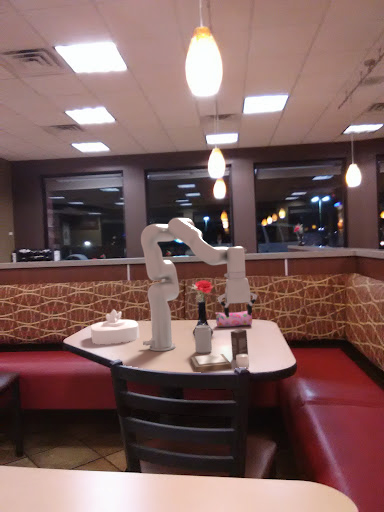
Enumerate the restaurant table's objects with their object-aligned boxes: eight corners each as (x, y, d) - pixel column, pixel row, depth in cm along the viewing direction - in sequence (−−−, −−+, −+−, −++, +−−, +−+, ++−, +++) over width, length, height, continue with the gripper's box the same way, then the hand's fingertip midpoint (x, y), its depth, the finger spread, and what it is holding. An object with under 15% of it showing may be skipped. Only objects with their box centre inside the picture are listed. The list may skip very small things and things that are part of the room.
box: (240, 355, 174) (239, 328, 174) (248, 357, 171) (247, 329, 170) (231, 359, 170) (230, 331, 170) (239, 361, 167) (238, 332, 166)
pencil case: (216, 329, 230) (215, 313, 229) (215, 325, 239) (214, 310, 239) (253, 327, 230) (252, 311, 230) (250, 323, 239) (250, 308, 239)
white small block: (238, 369, 157) (237, 358, 156) (235, 365, 161) (234, 354, 161) (250, 368, 157) (250, 356, 157) (247, 364, 162) (246, 353, 162)
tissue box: (90, 336, 228) (89, 308, 227) (134, 331, 235) (132, 304, 234) (93, 346, 204) (91, 315, 203) (141, 340, 211) (140, 310, 211)
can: (206, 354, 178) (205, 328, 178) (192, 353, 182) (191, 327, 182) (214, 350, 185) (213, 324, 184) (201, 348, 189) (199, 323, 188)
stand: (196, 372, 155) (196, 365, 155) (191, 361, 169) (190, 355, 169) (231, 368, 158) (231, 362, 158) (223, 358, 171) (222, 352, 171)
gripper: (218, 277, 164) (220, 319, 165) (258, 275, 167) (260, 315, 168) (214, 276, 172) (216, 315, 172) (253, 273, 174) (255, 312, 175)
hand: (238, 315), depth 170 cm, fingers open, 9 cm apart
